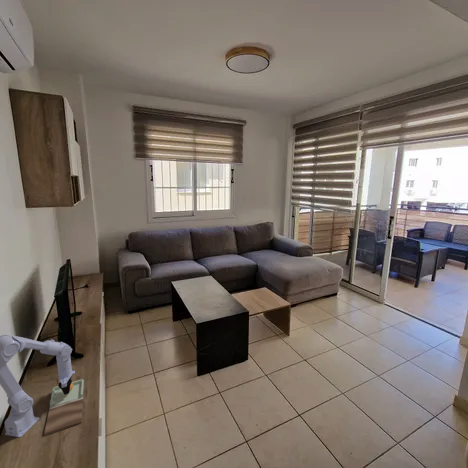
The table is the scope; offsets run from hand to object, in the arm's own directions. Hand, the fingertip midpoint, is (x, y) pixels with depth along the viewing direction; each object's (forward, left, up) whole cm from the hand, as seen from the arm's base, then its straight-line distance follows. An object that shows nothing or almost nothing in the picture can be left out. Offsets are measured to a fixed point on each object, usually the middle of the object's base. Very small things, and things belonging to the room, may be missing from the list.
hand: (67, 389), depth 133 cm
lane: (-6, -4, -4) cm, 8 cm away
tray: (0, 0, -3) cm, 3 cm away
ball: (0, 0, +2) cm, 2 cm away
